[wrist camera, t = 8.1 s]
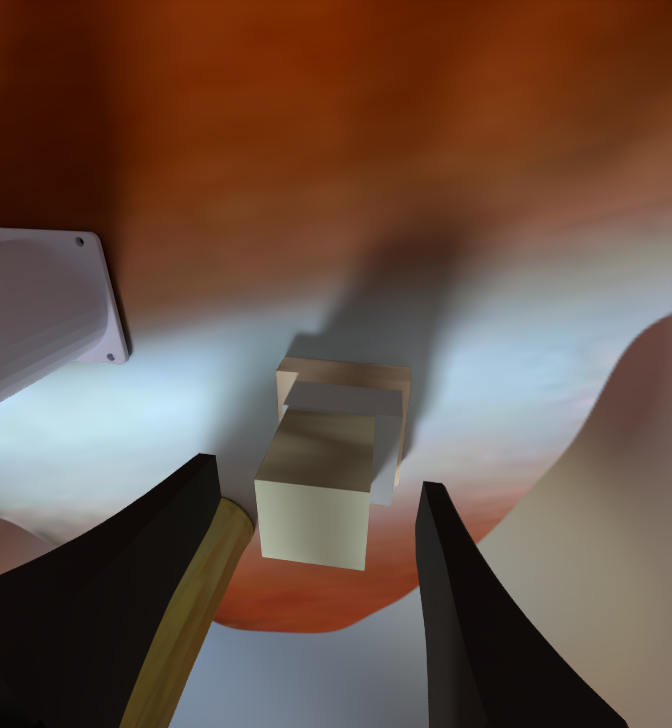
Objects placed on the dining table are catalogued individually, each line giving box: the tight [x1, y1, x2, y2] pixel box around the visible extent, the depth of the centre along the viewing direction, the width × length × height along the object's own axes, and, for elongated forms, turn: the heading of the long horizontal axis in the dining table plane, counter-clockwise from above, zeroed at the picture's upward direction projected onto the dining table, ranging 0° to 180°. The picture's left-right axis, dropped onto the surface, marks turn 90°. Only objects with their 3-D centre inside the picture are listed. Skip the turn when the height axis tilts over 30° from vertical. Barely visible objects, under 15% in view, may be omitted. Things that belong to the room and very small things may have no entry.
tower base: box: [276, 357, 411, 486], centre depth 23 cm, size 8×8×2 cm
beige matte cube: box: [254, 409, 376, 571], centre depth 18 cm, size 4×4×5 cm
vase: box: [119, 497, 253, 728], centre depth 24 cm, size 6×6×14 cm
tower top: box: [283, 381, 403, 506], centre depth 21 cm, size 6×6×2 cm
